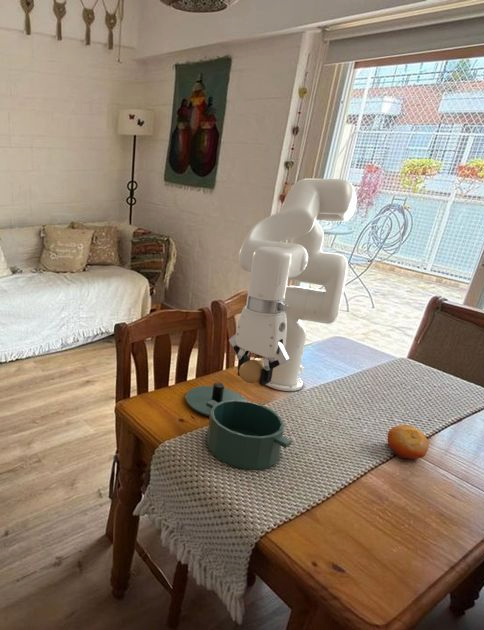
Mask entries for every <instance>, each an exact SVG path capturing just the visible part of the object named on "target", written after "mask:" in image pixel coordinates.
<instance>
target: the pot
mask: <svg viewBox="0 0 484 630" xmlns="http://www.w3.org/2000/svg"><path fill="white" fill-rule="evenodd" d="M206 406H208V407H210V408H212V409H211V410H210V417H209V416H208V417H209V418H208V419H209V420H208V424H207V425H208V427H207V433H206V434H207V435H206V443H207V448H208V450H209V451H210V452H211V454H212V455H214V456H215V457H216V458H217V459H219V460H220V461H222V462H223V463H225V464H228V465H230V466H232V467H236V468H238V469H244V470H252V471H258V470H264V469H269V468H271V467H273V466H274V465H275V464H276V463H277V462H278V460H279V457H280V453H281V448H282V447H283V448H284V449H287V448H288V447H290V446H292V445H293V444H292V443H293V440H291V439H290V438H287V437H285V436H284V431H285V426H286V424H285V422H284V420H283V419H282V417H281V416H280V415H279V414H278V413H277V412H276V411H274V410H273V409H271V408H269V407H268V406H265V405H263V404H261V403H256V402H253V401H249V400H247V401H242V400H228V401H222V402H220V403H218V402H216V401H214V400H211V401H209V402H207V403H206Z"/></svg>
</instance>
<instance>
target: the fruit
mask: <svg viewBox="0 0 484 630" xmlns="http://www.w3.org/2000/svg"><path fill="white" fill-rule="evenodd" d="M429 444H430V441H429V440H428V438H427V437H426V435H425V433H424V432H422V431H421V430H419V429H417V428H416V427H414V426H413V425H409V424H400V425H396V426H393V427H391V428H390V429H389V430H388V431H387V444H386V446H388V447H389V449H390V450H391V451H392V453H394V454H395V455H396V457H398V458H400V459H401V458H402V459H415V460H417V459H421V458H424V457H425V456H426V455H427V453H428V451H429Z"/></svg>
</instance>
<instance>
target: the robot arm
mask: <svg viewBox="0 0 484 630" xmlns="http://www.w3.org/2000/svg"><path fill="white" fill-rule="evenodd" d="M356 206H357V195H356V191H355V187H354V186H353V183H351V182H350V181H348V180H346V179H342V178H303V179H300V180H298V181H295V182H294V183H293V184H292V185H291V187H290V188H289V191H288V192H287V194H286V196H285V199H284V201H283V204H282V206H281V207H280V209H279V212H276V213H274V214H273V213H272V214H271V215H269V216H267V217H265V218H264V219H262V220H260V221H258V222H257V223H256V224H254V225H253V226H252V227H251V228H250V229H249V231H248V233H247V235H246V236H245V237H244V240H243V242H242V244H241V246H240V250H239V253H238V264H239V266H240V268H241V269H242V270H244V271H246V272H248V273H249V274H250V275H249V282H248V288H247V295H246V296H247V297H246V303H245V305H244V306H243V307H242V310H241V311H240V314H239V319H238V322H237V327H236V330H235V331H236V333H235V334H233V335H232V336H231V337H230V338H229V339H228V342H229V344H230V345H231V346H232V347H233V351H234V352H235V353H236V358H237V360H238V363H237V376H239V377H240V374H239V369H240V366H241V365H242V364H243V363H244V362H246V361H249V360H251V359H250V357H249V356H250V353H253V354H255V355H258V356H261V357H262V359H263V361H264V369H262V370H261V376H260V380H259V381H258V382H259V383H258V384H259V385H260V386H262V387H263V386H266V387H269V388H271V389H274V390H276V391H277V390H278V391H284V392H295V391H296V392H297V391H299V390H301V389H302V388H303V385H304V382H303V380H302V379H301V378H300V373H302V372H304V371H305V367H304V365H302V362H303V356H304V351H305V344H306V340H307V330H306V329H307V328H306V326H305V325H304V323H303V322H302V321H307V322H312V323H318V324H324V325H325V324H326V325H329V324H333V323H334V322H336V320H337V319H338V317H339V313H340V309H341V306H342V305H341V304H342V300H343V295H344V290H345V286H346V281H347V275H348V269H349V266H348V265H349V264H348V260H347V257H346V256H344V255H343V254H341V253H335V252H326V251H323V250H322V249H323V244H324V239H325V232H324V230H323V228H322V226H321V224H320V222H318V221H327V222H328V221H329V222H347V221H349V219H351V217H352V216H353V215H354V212H355V211H356ZM287 240H290V242H283V241H287ZM289 280H290V281H292V282H298V283H303V284H309V285H316V286H322V287H323V288H324V289H325V290H323V289H315V288H310V287H304V286H296V285H288V281H289Z"/></svg>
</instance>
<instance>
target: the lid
mask: <svg viewBox="0 0 484 630" xmlns="http://www.w3.org/2000/svg"><path fill="white" fill-rule="evenodd" d="M211 400H214V401H216V402H218V403H220V402H222V401H228V400H242V401H248V399H247V398H246V397H245V396H244V395H242V394H241V393H239V392H237V391H235V390H232V389H230V388H227V387H225V384H224V383H222V382H214V383H213V385H201V386H196V387H194V388H191V389H190V390H188V391H187V392H186V394H185V402H186V404H187V405H188V407H190V408H191V409H192V410H194V411H195V412H197V413H199V414H201V415H203V416H206V417H210V410H211V409H212V408H210V407H208V406H206V403H207V402H209V401H211Z"/></svg>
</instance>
